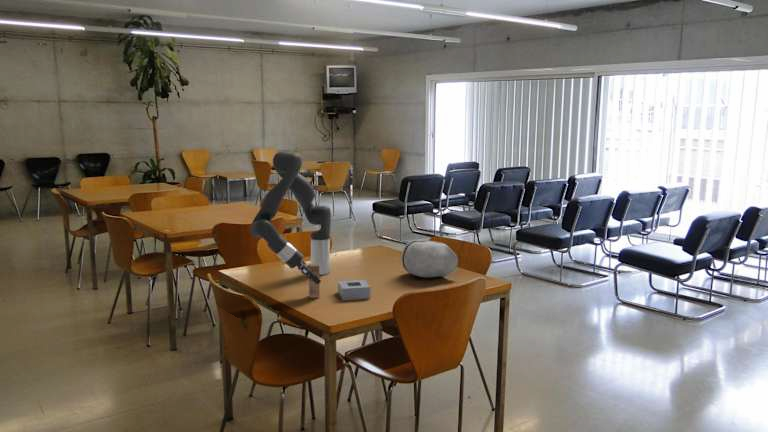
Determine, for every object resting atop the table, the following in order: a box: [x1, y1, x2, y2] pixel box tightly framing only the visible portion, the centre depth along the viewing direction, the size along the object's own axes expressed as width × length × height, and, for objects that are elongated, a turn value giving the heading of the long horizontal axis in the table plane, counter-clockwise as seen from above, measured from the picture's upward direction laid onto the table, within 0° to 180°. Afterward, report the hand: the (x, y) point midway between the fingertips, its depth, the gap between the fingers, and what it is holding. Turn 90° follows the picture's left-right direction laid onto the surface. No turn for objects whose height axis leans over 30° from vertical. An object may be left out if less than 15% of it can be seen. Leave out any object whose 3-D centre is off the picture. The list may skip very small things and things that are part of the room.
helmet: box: [401, 239, 459, 279], centre depth 295 cm, size 18×25×30 cm
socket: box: [337, 279, 371, 301], centre depth 262 cm, size 12×12×5 cm
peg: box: [308, 263, 320, 299], centre depth 258 cm, size 4×4×14 cm
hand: (318, 281), depth 259 cm, fingers closed on peg, 4 cm apart
